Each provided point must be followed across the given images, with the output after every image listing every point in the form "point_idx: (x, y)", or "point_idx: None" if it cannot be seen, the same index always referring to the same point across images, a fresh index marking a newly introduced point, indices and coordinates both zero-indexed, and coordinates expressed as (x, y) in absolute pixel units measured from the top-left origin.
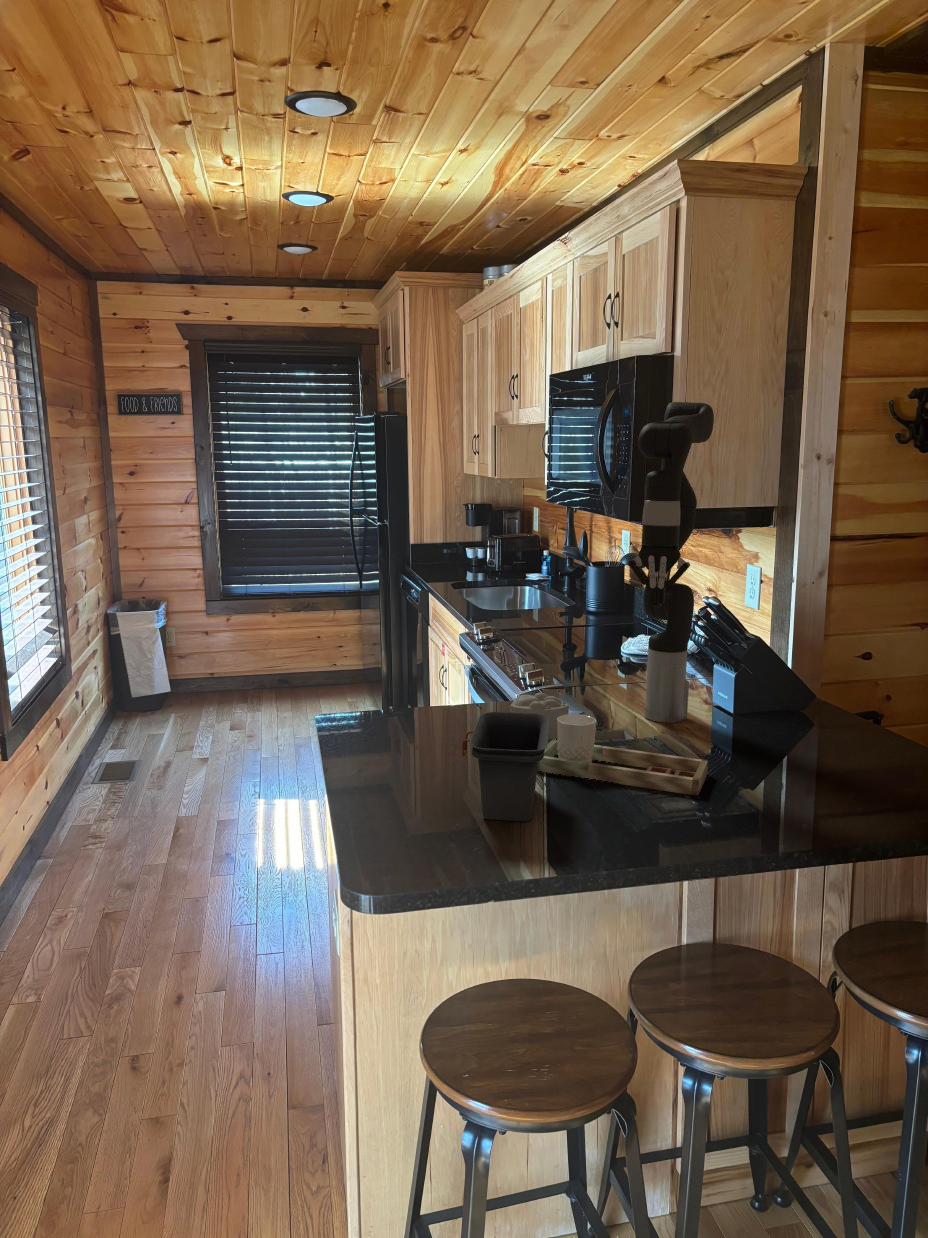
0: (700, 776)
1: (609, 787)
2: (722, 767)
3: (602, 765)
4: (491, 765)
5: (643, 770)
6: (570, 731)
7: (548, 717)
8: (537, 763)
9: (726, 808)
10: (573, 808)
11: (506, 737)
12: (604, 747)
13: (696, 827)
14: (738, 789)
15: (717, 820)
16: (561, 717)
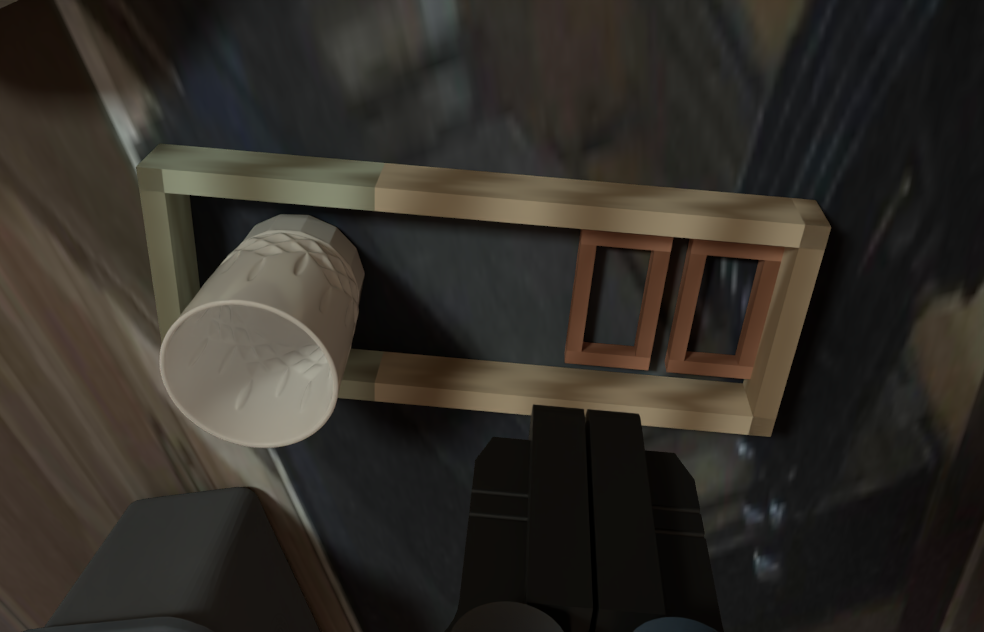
0: (780, 400)
1: (467, 411)
2: (897, 86)
3: (423, 396)
4: None
5: (573, 401)
6: (260, 427)
7: (3, 4)
8: (242, 562)
9: (842, 464)
10: (404, 565)
11: (100, 606)
12: (380, 205)
13: (739, 588)
14: (916, 309)
15: (802, 541)
16: (168, 348)
